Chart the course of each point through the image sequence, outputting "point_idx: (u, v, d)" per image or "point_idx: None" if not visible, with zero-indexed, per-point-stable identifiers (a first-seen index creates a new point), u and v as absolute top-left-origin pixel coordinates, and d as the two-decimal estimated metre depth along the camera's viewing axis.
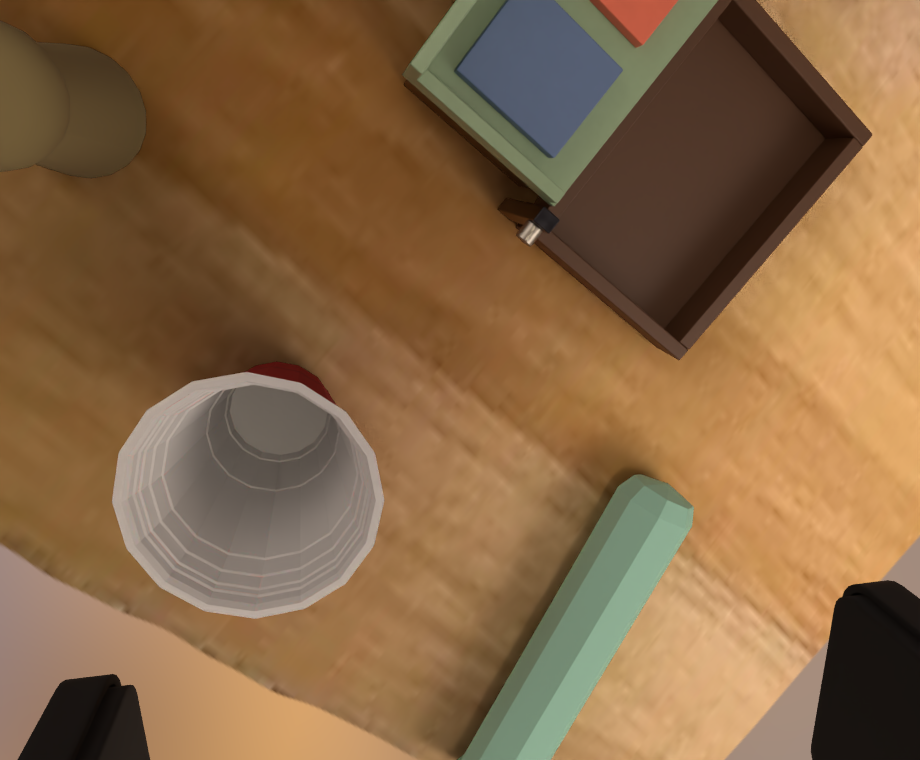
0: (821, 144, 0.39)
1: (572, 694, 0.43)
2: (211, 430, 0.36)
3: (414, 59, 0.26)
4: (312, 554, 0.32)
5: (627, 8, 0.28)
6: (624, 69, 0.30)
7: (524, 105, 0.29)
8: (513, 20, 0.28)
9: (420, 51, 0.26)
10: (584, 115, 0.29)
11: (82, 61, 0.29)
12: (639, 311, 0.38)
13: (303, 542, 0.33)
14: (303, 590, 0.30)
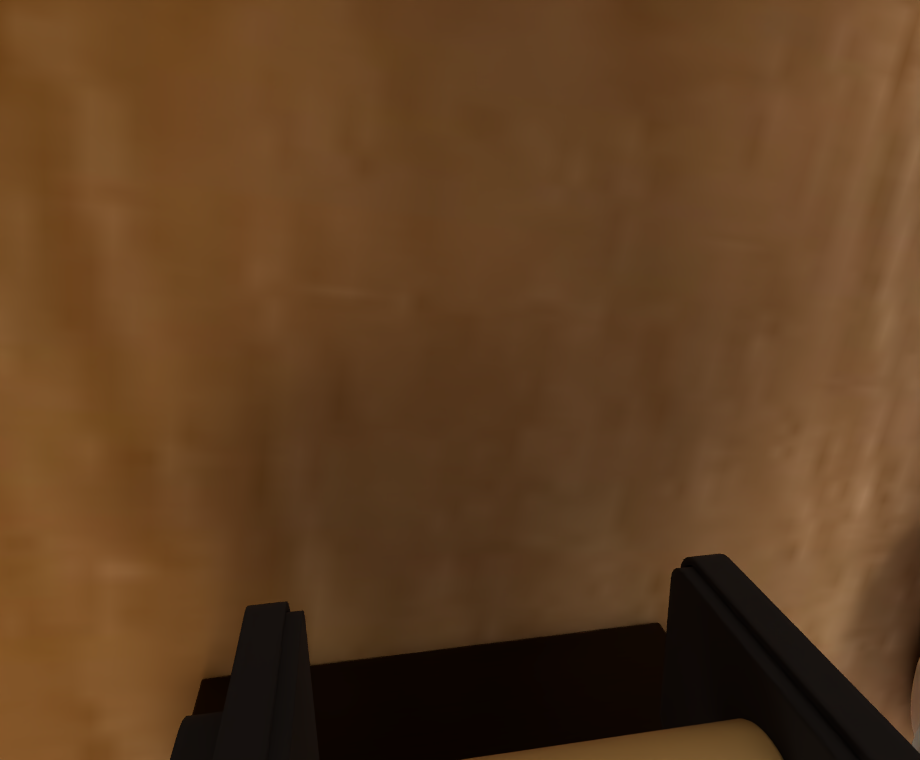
0: None
1: None
2: None
3: None
4: None
5: None
6: None
7: None
8: None
9: None
10: None
11: None
12: None
13: None
14: None
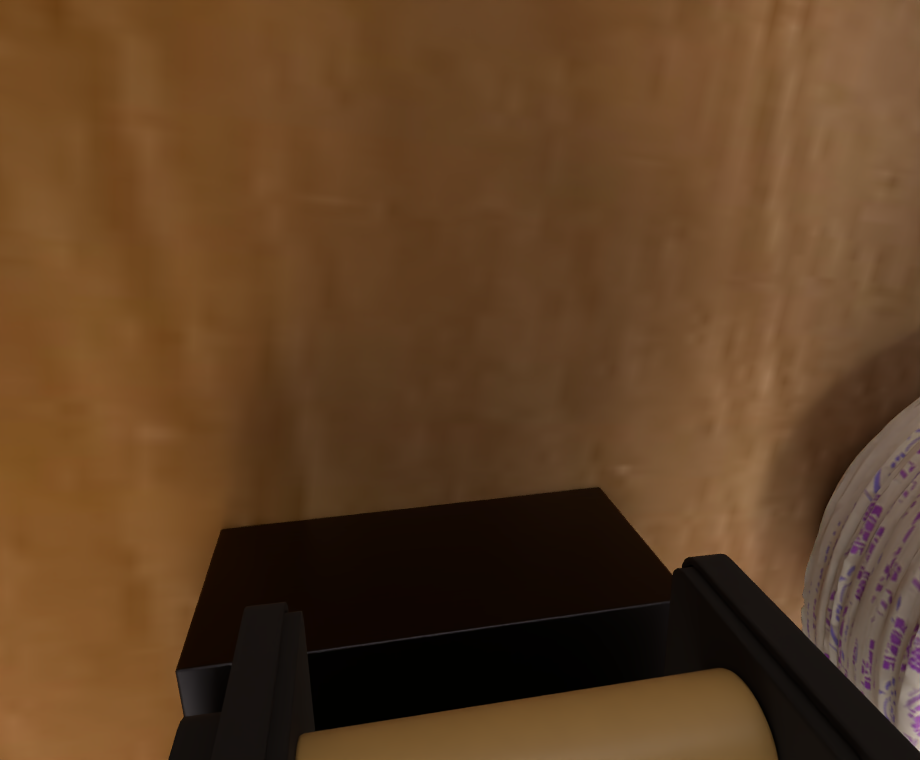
0: None
1: None
2: None
3: None
4: None
5: None
6: None
7: None
8: None
9: None
10: None
11: None
12: None
13: None
14: None
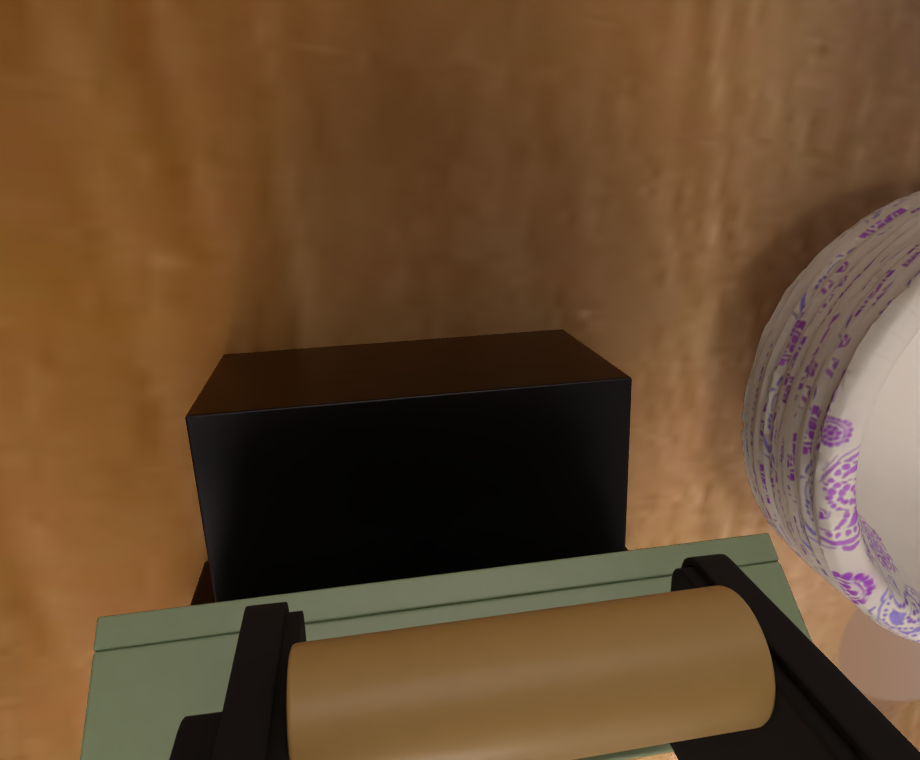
0: None
1: None
2: None
3: None
4: None
5: None
6: None
7: None
8: None
9: None
10: None
11: None
12: None
13: None
14: None
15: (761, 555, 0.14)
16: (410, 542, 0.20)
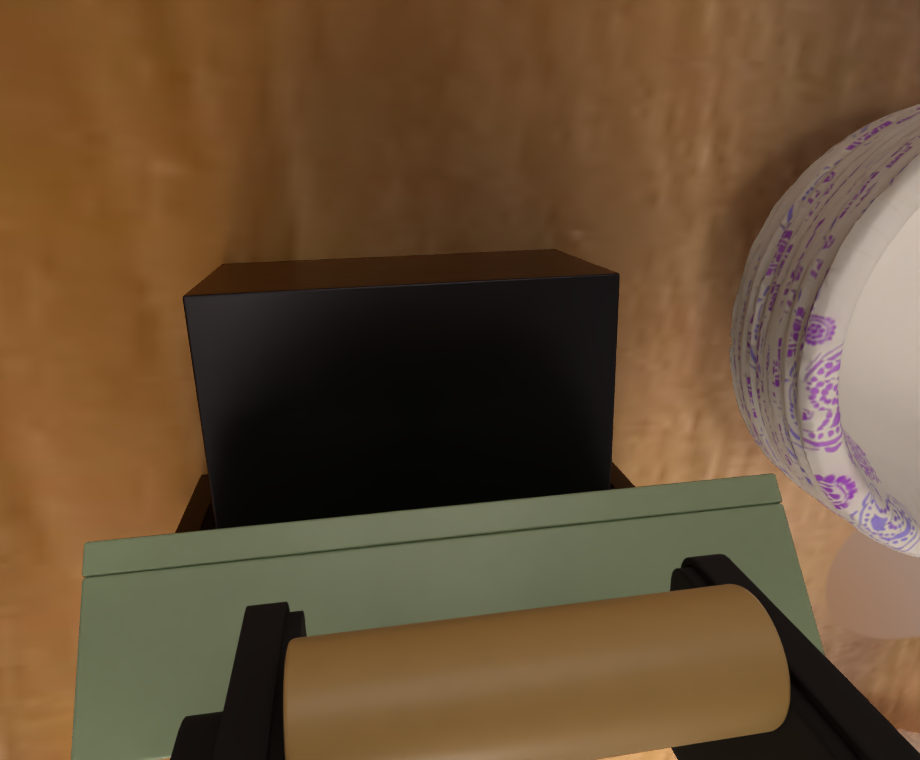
0: None
1: None
2: None
3: None
4: None
5: None
6: None
7: None
8: None
9: None
10: None
11: None
12: None
13: None
14: None
15: (764, 496, 0.14)
16: (401, 433, 0.20)
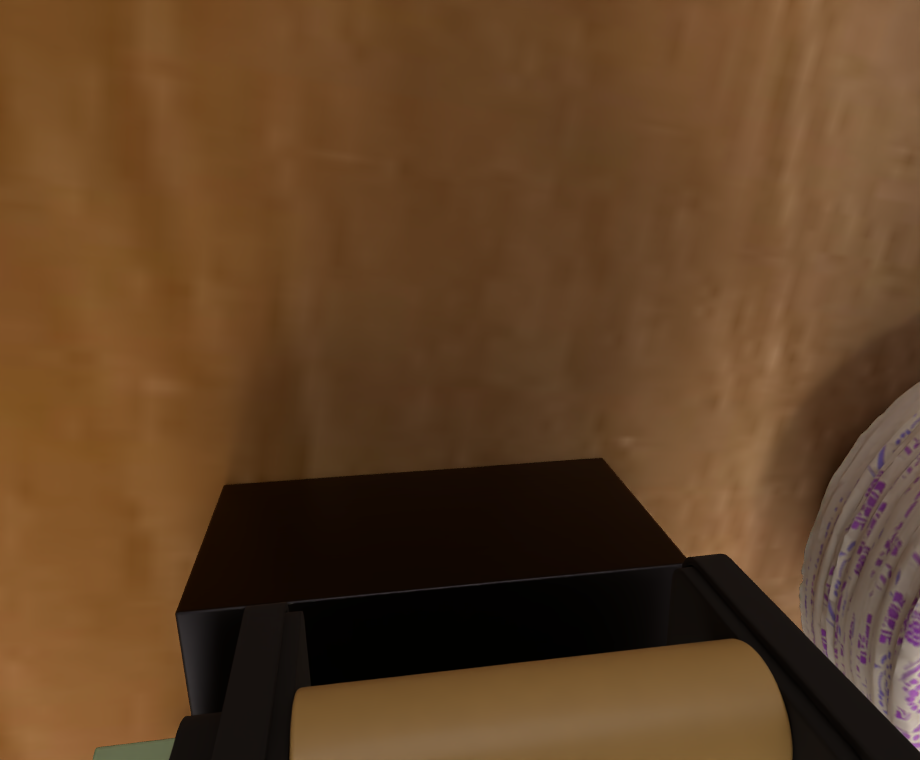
0: None
1: None
2: None
3: None
4: None
5: None
6: None
7: None
8: None
9: None
10: None
11: None
12: None
13: None
14: None
15: None
16: None
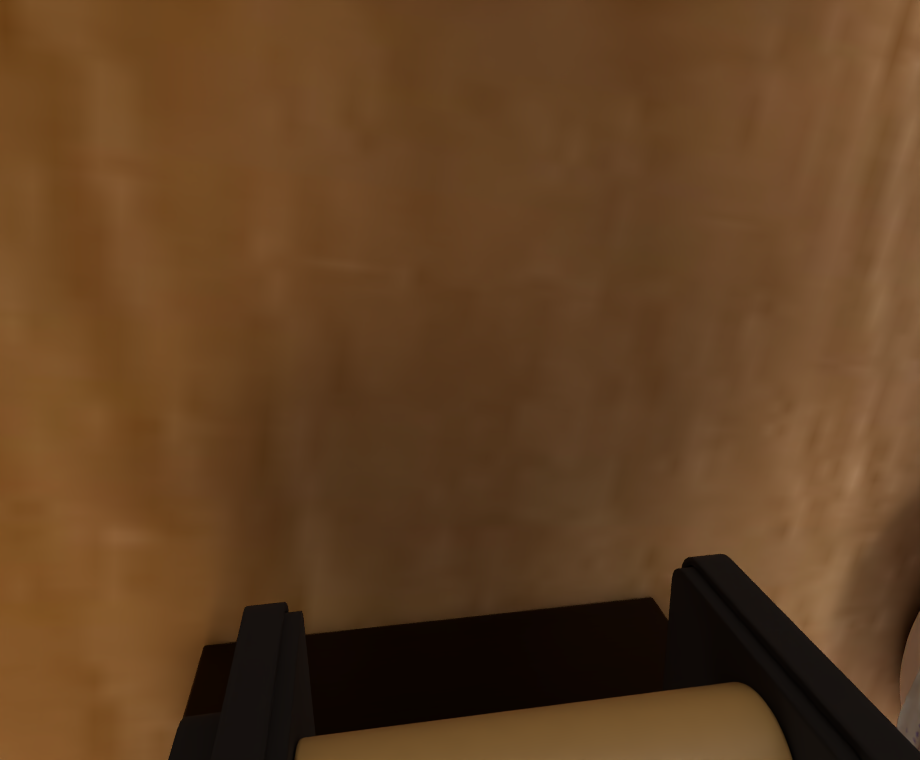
0: None
1: None
2: None
3: None
4: None
5: None
6: None
7: None
8: None
9: None
10: None
11: None
12: None
13: None
14: None
15: None
16: None
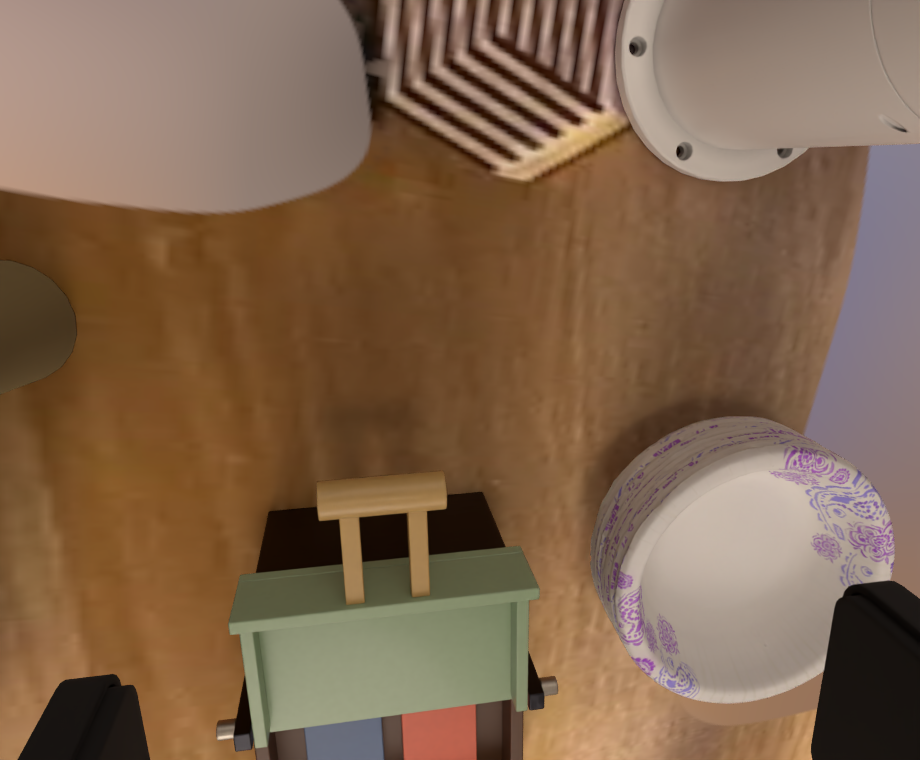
0: None
1: None
2: None
3: (233, 623, 0.28)
4: None
5: None
6: (386, 694, 0.34)
7: None
8: None
9: (242, 623, 0.28)
10: None
11: (29, 343, 0.30)
12: None
13: None
14: None
15: (515, 550, 0.33)
16: None
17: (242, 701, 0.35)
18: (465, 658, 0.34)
